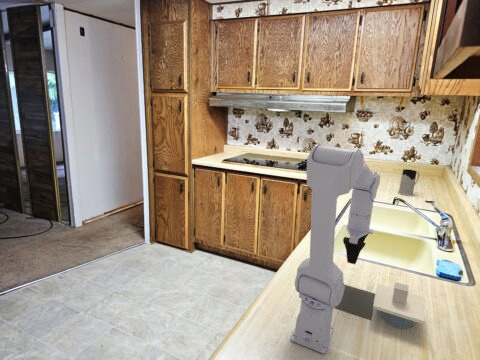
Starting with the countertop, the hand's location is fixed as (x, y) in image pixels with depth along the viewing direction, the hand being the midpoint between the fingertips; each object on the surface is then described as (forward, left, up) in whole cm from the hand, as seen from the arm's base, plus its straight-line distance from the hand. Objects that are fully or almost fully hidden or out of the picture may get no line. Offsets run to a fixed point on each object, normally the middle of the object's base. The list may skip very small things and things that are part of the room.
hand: (353, 257), depth 91 cm
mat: (-6, -1, -10) cm, 12 cm away
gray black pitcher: (+130, -14, -10) cm, 131 cm away
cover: (-8, -13, -6) cm, 16 cm away
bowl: (-8, -13, -10) cm, 18 cm away
